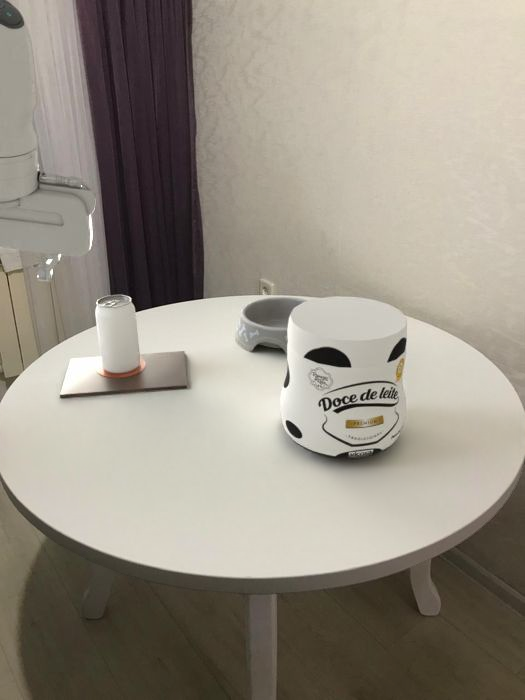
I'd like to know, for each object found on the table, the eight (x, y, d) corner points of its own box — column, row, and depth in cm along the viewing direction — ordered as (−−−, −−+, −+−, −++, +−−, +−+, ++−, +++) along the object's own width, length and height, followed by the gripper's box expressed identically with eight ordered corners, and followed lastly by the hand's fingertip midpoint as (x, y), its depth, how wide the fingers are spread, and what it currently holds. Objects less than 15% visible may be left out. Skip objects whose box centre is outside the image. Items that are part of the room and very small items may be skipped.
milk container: (359, 488, 73) (370, 358, 65) (254, 437, 83) (253, 319, 75) (424, 429, 85) (440, 313, 77) (325, 391, 95) (331, 285, 87)
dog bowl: (318, 362, 104) (320, 334, 102) (222, 348, 109) (221, 322, 107) (337, 326, 119) (339, 301, 116) (251, 315, 124) (251, 291, 121)
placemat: (60, 398, 93) (59, 394, 93) (71, 361, 104) (70, 357, 104) (187, 388, 96) (187, 384, 95) (184, 353, 107) (184, 350, 107)
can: (148, 362, 102) (142, 298, 97) (122, 378, 97) (115, 310, 92) (120, 354, 105) (113, 291, 100) (94, 369, 100) (85, 303, 95)
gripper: (98, 168, 67) (95, 269, 76) (-100, 139, 63) (-79, 250, 71) (92, 193, 62) (90, 298, 71) (-122, 164, 58) (-97, 279, 67)
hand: (4, 274), depth 71 cm, fingers open, 8 cm apart
